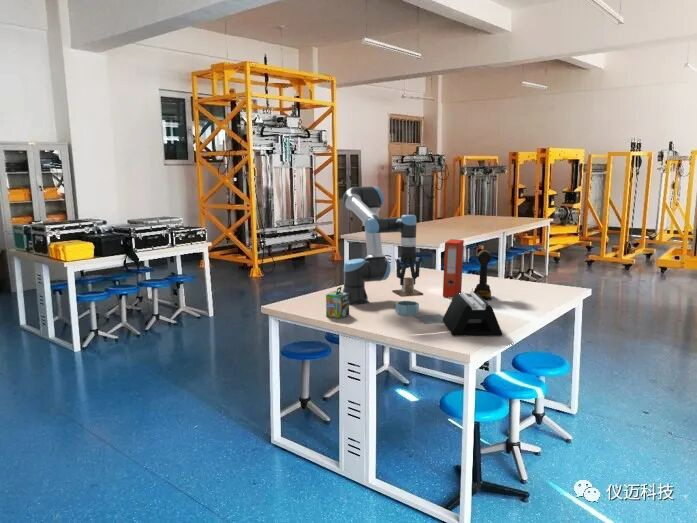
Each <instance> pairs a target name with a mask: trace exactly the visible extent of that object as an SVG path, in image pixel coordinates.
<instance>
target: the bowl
mask: <svg viewBox="0 0 697 523" xmlns="http://www.w3.org/2000/svg"><path fill="white" fill-rule="evenodd" d="M419 310H420V303H419V302H416V301H414V300H400V301H397V302H395V313H396V314H397V315H400V316H417V315H418V314H419V312H420V311H419Z"/></svg>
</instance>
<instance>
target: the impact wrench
mask: <svg viewBox="0 0 697 523" xmlns="http://www.w3.org/2000/svg"><path fill="white" fill-rule="evenodd" d="M477 259H478V262H479V264H480V267H479V280H478V281H479V283H478V284H476V286H475V287H474V290H472V292H474V293H475V294H478V295H479V296H480V297H482V298H483V299H490V300H491V299H492V290H491V287H490V285H489V284H488V264H489V263H490V262H491V261H492V253H491V252H490V251H489V250H487V249H482V250H480V251H479V252H477Z"/></svg>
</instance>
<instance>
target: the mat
mask: <svg viewBox="0 0 697 523" xmlns="http://www.w3.org/2000/svg"><path fill="white" fill-rule="evenodd" d="M411 316H412V318H414V319H416V320H418V321H420V323H423V324H424V325H431V324H440V323H441V324H442V323H443V324H445V323H444V322H443V320H442V319H443V317H444V315H441V314H440V313H438V314H423V315H411Z"/></svg>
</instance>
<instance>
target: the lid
mask: <svg viewBox="0 0 697 523" xmlns="http://www.w3.org/2000/svg"><path fill="white" fill-rule="evenodd" d="M404 279H405V292H402V289H392V291H391V292H392V293H393V294H395V295H396V296H399V297H401V298H402V297H419V296H424V292H422V291H419V290H418V289H416V288H414V291H413V278H412V277H411V276H410V277H404Z"/></svg>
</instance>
